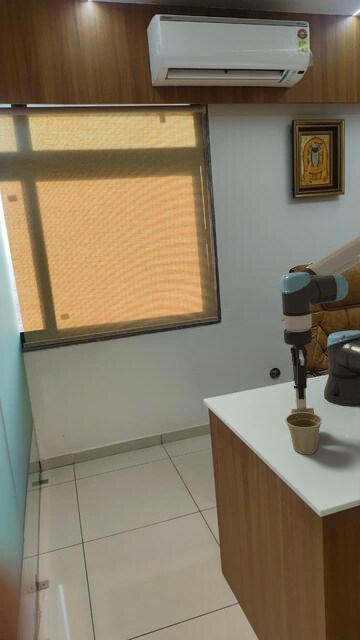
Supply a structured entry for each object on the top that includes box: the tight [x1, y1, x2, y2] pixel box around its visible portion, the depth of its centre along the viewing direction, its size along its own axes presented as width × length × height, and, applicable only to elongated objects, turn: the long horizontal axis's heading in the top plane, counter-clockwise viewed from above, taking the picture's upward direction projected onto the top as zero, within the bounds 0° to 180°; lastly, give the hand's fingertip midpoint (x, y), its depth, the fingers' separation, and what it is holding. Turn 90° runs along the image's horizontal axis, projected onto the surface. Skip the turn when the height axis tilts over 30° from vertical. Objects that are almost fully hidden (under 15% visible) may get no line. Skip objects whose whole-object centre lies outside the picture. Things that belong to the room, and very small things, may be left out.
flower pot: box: [284, 412, 323, 455], centre depth 112 cm, size 9×9×9 cm
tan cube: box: [290, 407, 315, 414], centre depth 119 cm, size 6×6×6 cm
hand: (301, 407), depth 119 cm, fingers closed
